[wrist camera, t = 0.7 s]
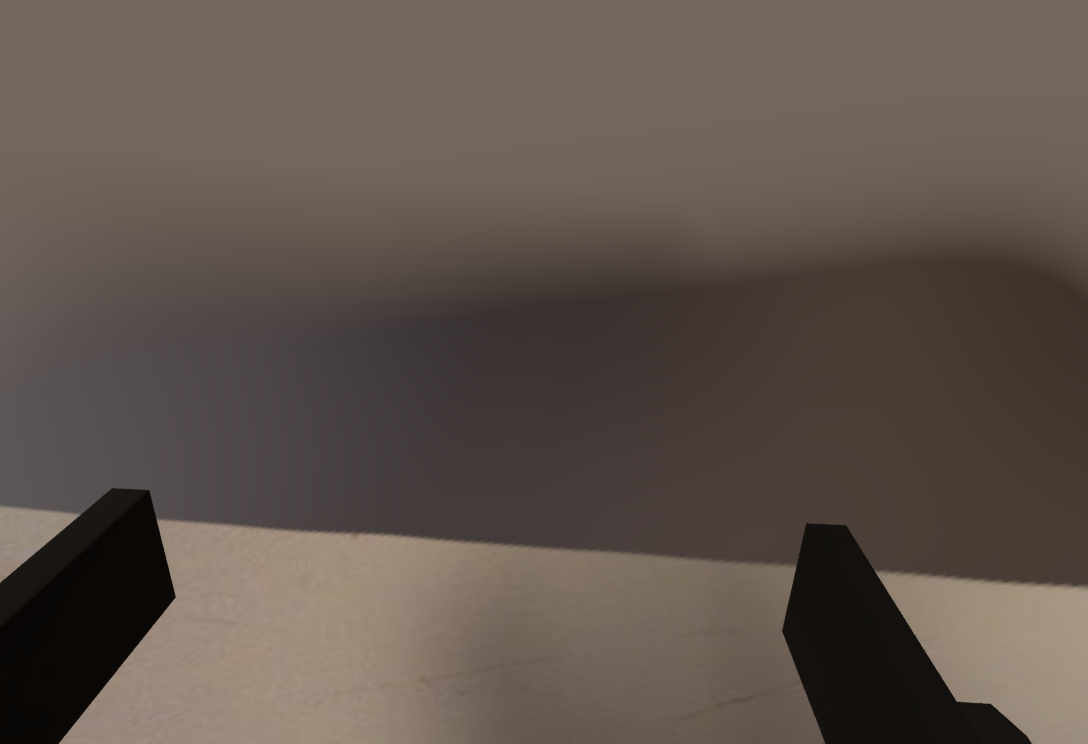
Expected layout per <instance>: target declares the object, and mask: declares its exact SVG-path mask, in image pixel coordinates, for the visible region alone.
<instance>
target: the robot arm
mask: <svg viewBox="0 0 1088 744" xmlns="http://www.w3.org/2000/svg"><path fill="white" fill-rule="evenodd" d="M175 598H176V596H175V592H174V588H173V584H172V580H171V576H170V572H169V568H168V564H167V560H166V556H165V552H164V548H163V544H162V540H161V535H160V531H159V527H158V523H157V519H156V516H155V511H154V507H153V504H152V499H151V495H150V491H149V490H133V489H116V488H112V489H111V490H110V491H108V492H107V493H106V494H105V495H104V496H103V497H102V498H100V499H99V500H98V501H97V502H95V504H93V505H92V506H91V507H89V508H88V509H87V510H86V511H85V512H84V513H82V514H81V515H80V516H79V517H78V518H76V519H75V520H74V521H73V522H72V523H71V524H69V525H68V526H67V527H66V528H65V529H63V530H62V531H61V532H60V533H59V534H58V535H56V536H55V537H54V538H53V539H52V540H50V541H49V542H48V543H47V544H46V545H44V546H43V547H42V548H41V549H40V550H39V551H37V552H36V553H35V554H34V555H33V556H31V557H30V558H29V559H28V560H27V561H26V562H24V563H23V564H22V565H21V566H20V567H18V568H17V569H16V570H15V571H14V572H12V573H11V574H10V575H9V576H8V577H7V578H5V579H4V580H3V581H2V582H1V583H0V744H59V742H60V741H61V740H62V739H63V737H64V736H65V735H66V734H67V733H68V731H69V730H70V729H71V728H72V726H73V725H74V724H75V723H76V721H77V720H78V719H79V718H80V716H81V715H82V714H83V713H84V711H85V710H86V709H87V708H88V706H89V705H90V704H91V703H92V701H93V700H94V699H95V698H96V696H97V695H98V694H99V693H100V691H101V690H102V689H103V688H104V686H105V685H106V684H107V683H108V681H109V680H110V679H111V678H112V676H113V675H114V674H115V673H116V671H117V670H118V669H119V668H120V666H121V665H122V664H123V663H124V661H125V660H126V659H127V658H128V656H129V655H130V654H131V653H132V651H133V650H134V649H135V648H136V646H137V645H138V644H139V643H140V641H141V640H142V639H143V638H144V636H145V635H146V634H147V633H148V631H149V630H150V629H151V628H152V626H153V625H154V624H155V623H156V621H157V620H158V619H159V618H160V616H161V615H162V614H163V613H164V611H165V610H166V609H167V608H168V606H169V605H170V604H171V603H172V601H173V600H174V599H175ZM782 632H783V635H784V637H785V640H786V642H787V645H788V648H789V650H790V653H791V655H792V658H793V661H794V663H795V666H796V668H797V671H798V674H799V676H800V679H801V681H802V684H803V687H804V689H805V692H806V694H807V697H808V700H809V702H810V705H811V707H812V710H813V713H814V715H815V718H816V720H817V723H818V726H819V728H820V731H821V733H822V736H823V739H824V741H825V744H1032V743H1031V742H1030V740H1029V739H1028V737H1027V736H1026V735H1025V734H1024V733H1023V732H1022V731H1021V730H1019V729H1018V728H1017V727H1016V726H1015V725H1014V724H1013V723H1012V722H1010V721H1009V720H1008V719H1007V718H1006V717H1005V716H1004V715H1003V714H1001V713H1000V712H999V711H998V710H997V709H996V708H995V707H994V706H992V705H991V704H983V703H966V702H957V701H956V700H955V698H954V697H953V695H952V693H951V692H950V690H949V689H948V687H947V685H946V684H945V682H944V681H943V679H942V678H941V676H940V674H939V673H938V671H937V670H936V668H935V666H934V665H933V663H932V662H931V660H930V658H929V657H928V655H927V654H926V652H925V650H924V649H923V647H922V646H921V644H920V643H919V641H918V639H917V638H916V636H915V635H914V633H913V631H912V630H911V628H910V627H909V625H908V623H907V622H906V620H905V619H904V617H903V615H902V614H901V612H900V611H899V609H898V607H897V606H896V604H895V603H894V601H893V600H892V598H891V596H890V595H889V593H888V592H887V590H886V588H885V587H884V585H883V584H882V582H881V580H880V579H879V577H878V576H877V574H876V572H875V571H874V569H873V568H872V566H871V565H870V563H869V561H868V560H867V559H866V557H865V555H864V553H863V552H862V550H861V549H860V547H859V545H858V544H857V542H856V541H855V539H854V538H853V536H852V534H851V533H850V531H849V529H848V528H847V526H846V525H826V524H806V527H805V532H804V536H803V540H802V545H801V549H800V554H799V559H798V563H797V567H796V571H795V576H794V580H793V585H792V589H791V594H790V598H789V603H788V607H787V611H786V616H785V620H784V625H783V629H782Z"/></svg>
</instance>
